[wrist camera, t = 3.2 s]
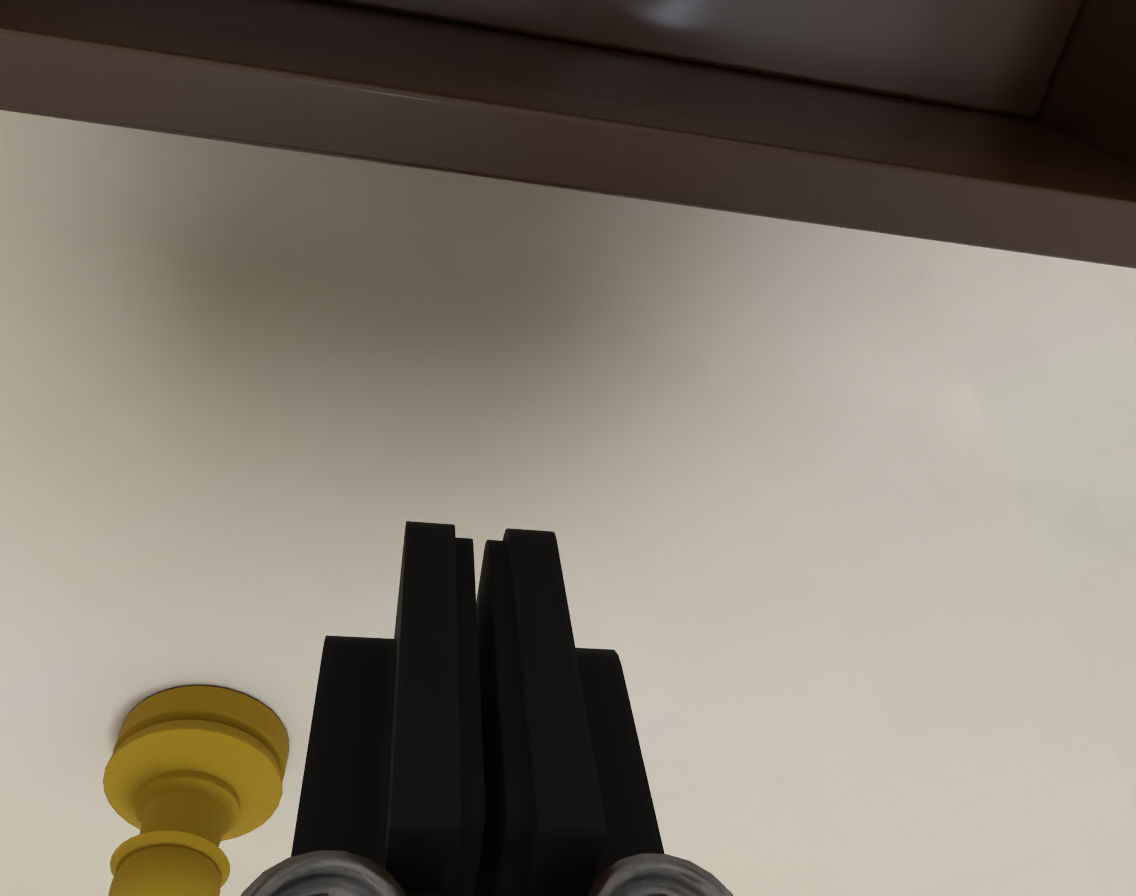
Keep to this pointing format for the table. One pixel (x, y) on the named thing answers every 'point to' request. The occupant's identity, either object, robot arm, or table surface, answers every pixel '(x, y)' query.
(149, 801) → the chess piece
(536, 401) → the table surface
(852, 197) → the rack
